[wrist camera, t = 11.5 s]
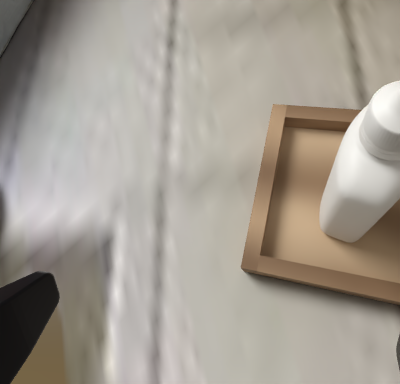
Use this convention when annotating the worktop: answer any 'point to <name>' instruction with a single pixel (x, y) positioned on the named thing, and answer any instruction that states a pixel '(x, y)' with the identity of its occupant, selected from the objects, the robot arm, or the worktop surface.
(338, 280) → the shallow wooden tray
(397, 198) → the eye dropper bottle
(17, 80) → the worktop surface
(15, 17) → the soda pack
